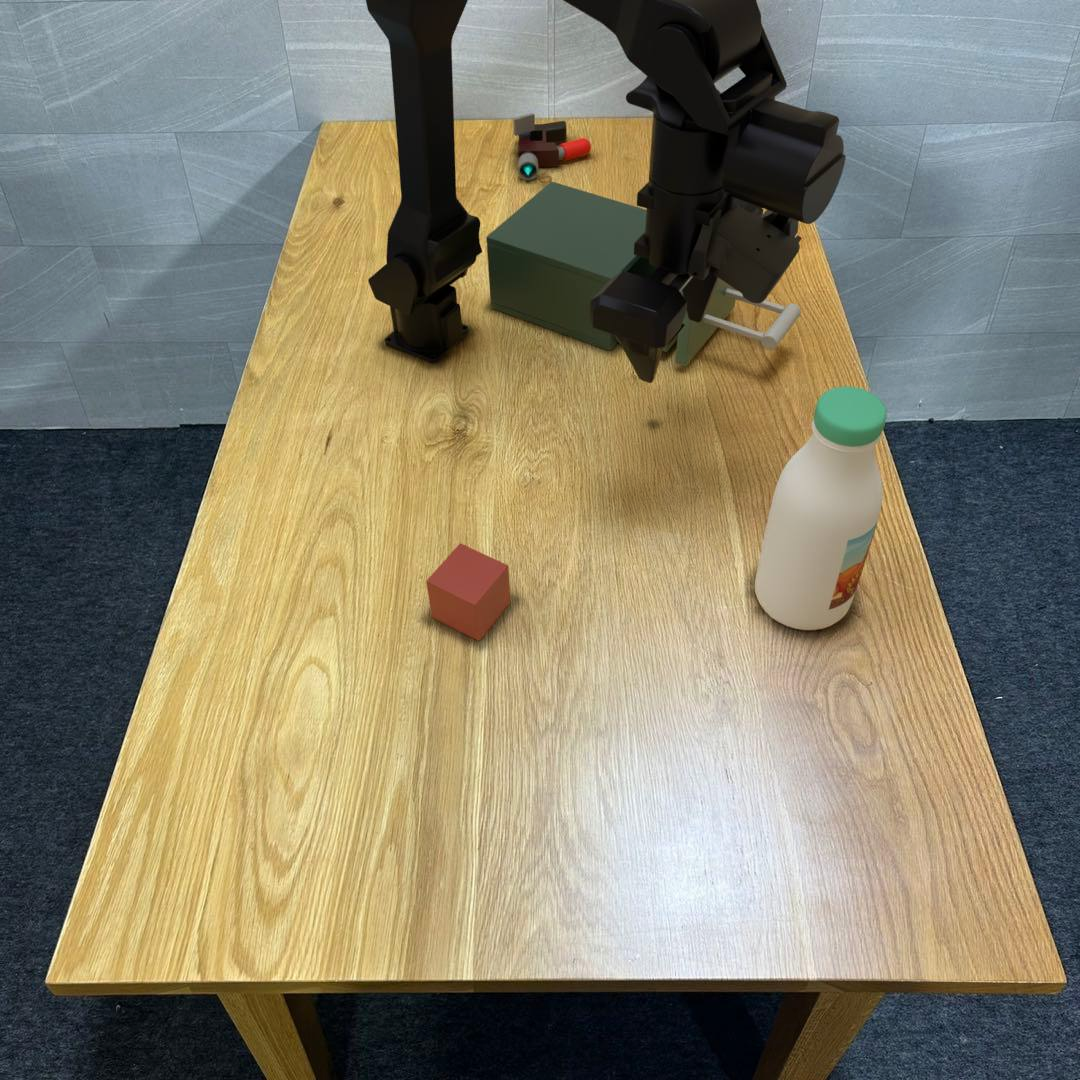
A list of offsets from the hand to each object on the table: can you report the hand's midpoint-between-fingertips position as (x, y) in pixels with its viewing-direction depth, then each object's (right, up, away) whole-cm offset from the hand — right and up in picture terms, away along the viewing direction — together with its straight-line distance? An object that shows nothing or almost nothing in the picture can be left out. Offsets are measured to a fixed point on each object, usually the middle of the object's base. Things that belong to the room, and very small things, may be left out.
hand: (671, 349), depth 86 cm
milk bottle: (+10, -20, -2) cm, 23 cm away
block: (-16, -21, -3) cm, 27 cm away
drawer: (+4, +6, +20) cm, 21 cm away
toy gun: (-9, +32, +45) cm, 56 cm away
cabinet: (-7, +10, +25) cm, 28 cm away
